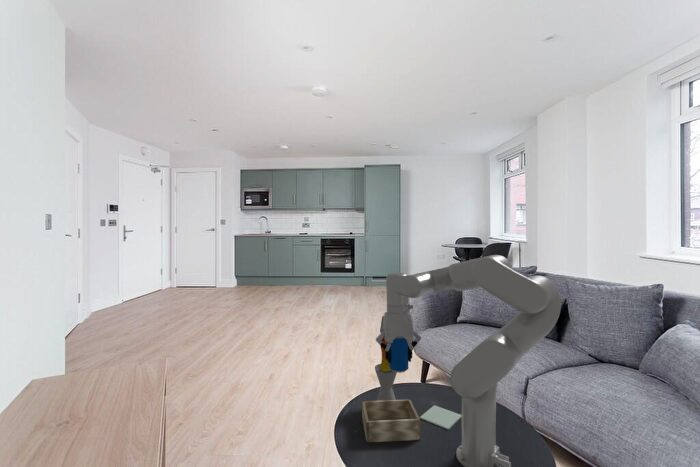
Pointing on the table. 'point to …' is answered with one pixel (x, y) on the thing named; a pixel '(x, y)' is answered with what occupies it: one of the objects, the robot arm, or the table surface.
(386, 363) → the lava lamp
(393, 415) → the box
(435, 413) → the green mat
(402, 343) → the beverage can
